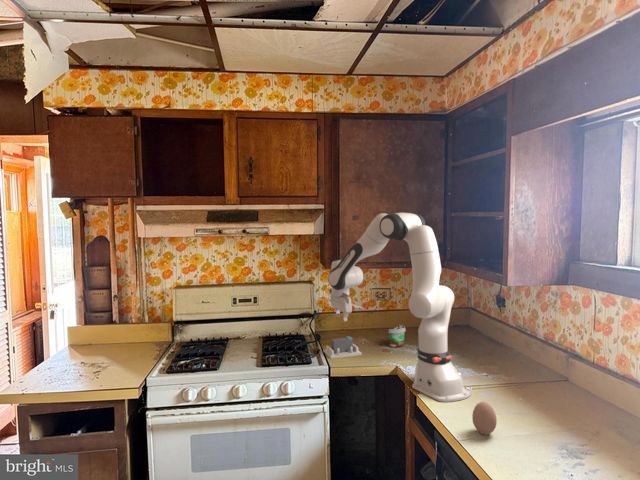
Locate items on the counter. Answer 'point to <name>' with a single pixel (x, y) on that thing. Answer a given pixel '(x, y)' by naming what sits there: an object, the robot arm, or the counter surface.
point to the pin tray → (330, 353)
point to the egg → (484, 418)
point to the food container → (397, 336)
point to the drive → (342, 344)
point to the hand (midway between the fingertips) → (341, 318)
